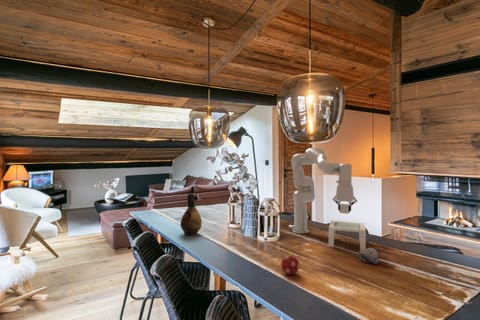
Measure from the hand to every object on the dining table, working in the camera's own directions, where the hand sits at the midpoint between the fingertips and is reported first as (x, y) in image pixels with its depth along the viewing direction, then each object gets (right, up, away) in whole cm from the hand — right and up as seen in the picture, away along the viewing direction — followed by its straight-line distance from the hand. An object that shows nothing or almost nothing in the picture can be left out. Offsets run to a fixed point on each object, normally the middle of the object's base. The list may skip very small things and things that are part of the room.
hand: (344, 211), depth 175 cm
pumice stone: (+4, -23, -24) cm, 34 cm away
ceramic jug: (-103, -22, +30) cm, 109 cm away
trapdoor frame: (+5, -23, +7) cm, 24 cm away
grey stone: (0, -1, 0) cm, 1 cm away
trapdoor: (+4, -11, +7) cm, 14 cm away
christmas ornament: (-42, -23, -41) cm, 63 cm away
